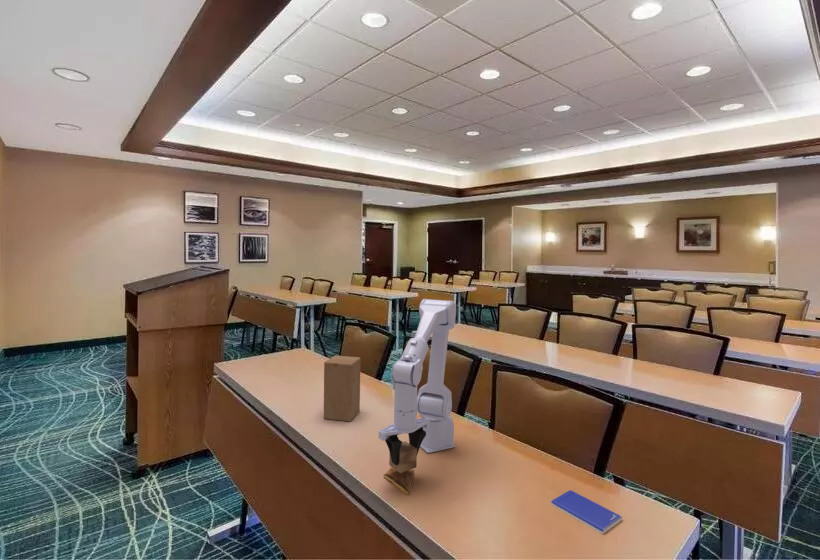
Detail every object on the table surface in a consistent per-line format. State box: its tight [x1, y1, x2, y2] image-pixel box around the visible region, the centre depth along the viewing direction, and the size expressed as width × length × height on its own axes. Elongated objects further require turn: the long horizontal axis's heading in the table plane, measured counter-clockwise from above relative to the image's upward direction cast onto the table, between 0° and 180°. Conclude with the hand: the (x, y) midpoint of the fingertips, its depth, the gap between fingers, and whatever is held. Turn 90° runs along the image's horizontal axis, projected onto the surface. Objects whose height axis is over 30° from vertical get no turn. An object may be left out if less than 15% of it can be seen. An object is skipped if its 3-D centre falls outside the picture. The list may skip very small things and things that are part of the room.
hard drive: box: [550, 489, 623, 535], centre depth 93 cm, size 2×8×12 cm
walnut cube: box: [388, 440, 418, 473], centre depth 105 cm, size 5×5×5 cm
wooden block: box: [323, 355, 361, 423], centre depth 144 cm, size 10×10×20 cm
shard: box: [383, 465, 415, 495], centre depth 104 cm, size 11×8×2 cm
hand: (404, 460), depth 105 cm, fingers closed on walnut cube, 5 cm apart
